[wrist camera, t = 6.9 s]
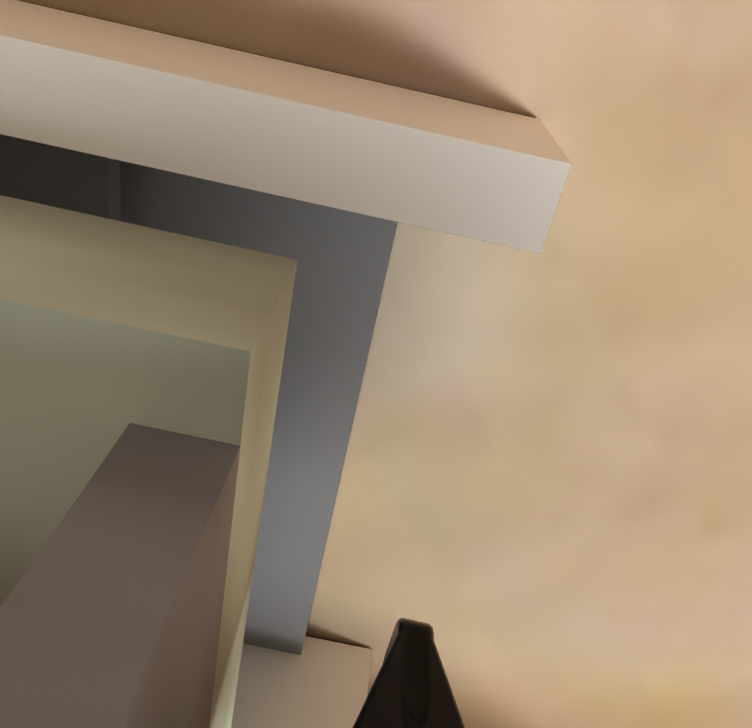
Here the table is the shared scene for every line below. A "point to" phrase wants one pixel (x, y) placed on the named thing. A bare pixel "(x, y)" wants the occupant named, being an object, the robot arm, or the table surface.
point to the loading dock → (271, 249)
